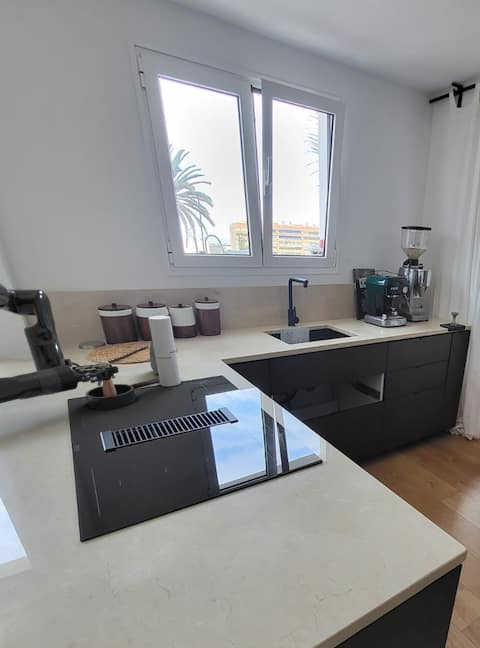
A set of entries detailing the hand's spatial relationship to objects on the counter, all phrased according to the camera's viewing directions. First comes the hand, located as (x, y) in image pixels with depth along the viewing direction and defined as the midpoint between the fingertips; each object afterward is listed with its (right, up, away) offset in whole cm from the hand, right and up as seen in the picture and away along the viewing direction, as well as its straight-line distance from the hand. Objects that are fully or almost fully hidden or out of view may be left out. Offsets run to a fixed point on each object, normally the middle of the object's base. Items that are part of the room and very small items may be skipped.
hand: (114, 368), depth 130 cm
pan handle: (+5, -5, +10) cm, 12 cm away
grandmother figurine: (-2, -10, +2) cm, 10 cm away
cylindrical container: (+9, -3, +21) cm, 23 cm away
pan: (-2, -11, +2) cm, 11 cm away
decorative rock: (+1, +1, +32) cm, 32 cm away
